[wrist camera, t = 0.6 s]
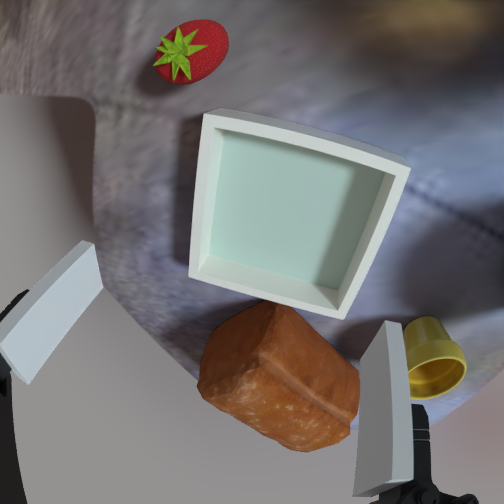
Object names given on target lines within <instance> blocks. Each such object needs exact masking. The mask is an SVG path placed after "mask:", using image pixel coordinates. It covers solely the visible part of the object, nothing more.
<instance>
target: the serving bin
mask: <svg viewBox="0 0 504 504" xmlns="http://www.w3.org/2000/svg"><path fill="white" fill-rule="evenodd" d="M410 170H411V168H410V166H409V165H408V164H407V163H406V162H405V161H404V160H403V158H402V157H401V156H400V155H398V154H395V153H393V152H390V151H387V150H384V149H381V148H378V147H376V146H373V145H370V144H367V143H364V142H360V141H357V140H354V139H351V138H348V137H344V136H341V135H338V134H334V133H331V132H327V131H324V130H320V129H316V128H313V127H309V126H305V125H301V124H297V123H293V122H289V121H285V120H280V119H276V118H271V117H267V116H262V115H257V114H252V113H247V112H242V111H236V110H230V109H224V108H218V109H215V110H212V111H209V112H207V113H204V115H203V123H202V131H201V139H200V147H199V156H198V165H197V174H196V184H195V194H194V205H193V217H192V230H191V244H190V259H189V277H190V278H194V279H197V280H200V281H204V282H207V283H210V284H214V285H217V286H220V287H224V288H227V289H231V290H234V291H238V292H241V293H245V294H248V295H252V296H255V297H259V298H262V299H266V300H269V301H273V302H277V303H280V304H284V305H288V306H292V307H295V308H299V309H303V310H307V311H310V312H314V313H318V314H322V315H326V316H330V317H334V318H338V319H342V320H344V318H345V316H346V314H347V312H348V310H349V308H350V307H351V305H352V303H353V301H354V299H355V297H356V295H357V293H358V291H359V289H360V287H361V285H362V283H363V281H364V279H365V277H366V275H367V273H368V270H369V268H370V266H371V264H372V262H373V260H374V258H375V256H376V253H377V251H378V249H379V247H380V244H381V242H382V240H383V238H384V235H385V233H386V231H387V228H388V226H389V224H390V221H391V219H392V217H393V214H394V212H395V209H396V207H397V204H398V202H399V199H400V197H401V194H402V191H403V189H404V186H405V184H406V181H407V178H408V175H409V173H410Z"/></svg>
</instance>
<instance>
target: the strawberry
mask: <svg viewBox="0 0 504 504" xmlns="http://www.w3.org/2000/svg"><path fill="white" fill-rule="evenodd" d="M160 37H161V39H162V42H161V44H160V45H159V47H156V48H155V49H157V53H156V57H155V64H154V65H153V66H155V67H156V70H157V72H158V74H159V76H160V77H161V78H162V79H164V80H166V81H168V82H171V83H174V84H181V85H184V84H191V83H194V82H197V81H199V80H201V79H203V78H205V77H206V76H208V75H209V74H211V73H212V72H213V71H214V70H215V69H216V68H217V67H218V66H219V65H220V64H221V63H222V61H223V60H224V58H225V57H226V54H227V52H228V47H229V41H228V35H227V32H226V30H225V29H224V27H223V26H221V25H220V24H219V23H217V22H215V21H212V20H193V21H189V22H186V23H183V24H181V25H179V26H177V27H176V28H175V29H173V30H172V31H171V32H170V33H169V34H168V35H167V36H166V37H165V38H164V37H162V36H160Z"/></svg>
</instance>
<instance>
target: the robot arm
mask: <svg viewBox="0 0 504 504" xmlns="http://www.w3.org/2000/svg"><path fill="white" fill-rule="evenodd" d="M102 289H103V285H102V281H101V276H100V272H99V267H98V262H97V257H96V252H95V247H94V244H93V243H90V242H87V241H83V240H82V241H81V242H80V243H78V244H77V245H76V246H75V247H74V248H73V249H72V250H71V251H70V252H69V253H67V254H66V255H65V257H63V258H62V259H61V260H60V261H59V262H58V263H57V264H56V265H55V266H54V267H53V268H52V269H51V270H50V271H49V272H48V273H47V274H46V275H45V276H44V277H42V279H41V280H40V281H39V282H38V283H37V284H36V285H35V286H34V287H33V288H32V289H31V290H28V289H27V290H25V291H23V292H22V293H20V294H18V295H17V296H16V297H15V298H14V299H13V300H12V301H11V304H9V305H8V306H7V307H6V308H5V310H4V311H2V313H1V314H0V504H27V500H26V496H25V492H24V488H23V483H22V478H21V473H20V468H19V463H18V457H17V449H16V443H15V433H14V423H13V410H12V387H11V374H10V373H9V372H10V371H11V369H12V370H13V371H14V373H15V374H16V375H17V376H18V377H19V378H20V379H21V380H23V381H24V382H25V383H27V384H28V385H29V384H30V382H31V381H32V379H33V378H34V377H35V375H36V374H37V372H38V371H39V369H40V368H41V367H42V365H43V364H44V362H45V361H46V360H47V358H48V357H49V356H50V354H51V353H52V351H53V350H54V349H55V348H56V346H57V345H58V344H59V342H60V341H61V339H62V338H63V337H64V336H65V334H66V333H67V332H68V330H69V329H70V328H71V327H72V325H73V324H74V323H75V322H76V320H77V319H78V318H79V316H80V315H81V314H82V313H83V311H84V310H85V309H86V308H87V307H88V305H89V304H90V303H91V302H92V301H93V299H94V298H95V297H96V296H97V294H98V293H99V292H100V291H101V290H102ZM429 440H430V435H429V421H428V415H427V413H426V411H425V409H424V406H423V405H420V404H411V397H410V386H409V377H408V368H407V360H406V353H405V346H404V339H403V333H402V327H401V323H396V322H391V321H387V320H385V321H384V323H383V324H382V326H381V328H380V329H379V331H378V333H377V334H376V336H375V337H374V339H373V340H372V342H371V344H370V345H369V347H368V348H367V350H366V351H365V353H364V354H363V356H362V357H361V359H360V410H359V432H358V448H357V461H356V471H355V482H354V490H353V496H354V497H373V496H375V495H378V494H379V500H377V501H374V502H371V503H369V504H479V502H478V500H477V498H476V497H475V496H474V495H473V494H466V495H463V496H461V497H456V496H452V495H448V494H445V493H442V492H440V491H439V490H438V488H437V487H436V486H435V485H434V484H433V482H432V478H431V452H430V442H429Z"/></svg>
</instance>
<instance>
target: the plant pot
mask: <svg viewBox="0 0 504 504" xmlns="http://www.w3.org/2000/svg"><path fill="white" fill-rule="evenodd" d="M403 339H404V346H405V353H406V360H407V368H408V377H409V386H410V397H411V399H413V400H424V399H430V398H434V397H437V396H440V395H442V394H444V393H446V392H448V391H450V390H451V389H453V388H454V387H455V386H457V385H458V384H459V383H460V382H461V380H462V379H463V378H464V376H465V374H466V370H467V366H466V362H465V358H464V355H463V353H462V350H461V348H460V346H459V345H458V344H457V343H456V342H454V341H452V340H451V338H450V336H449V335H448V333H447V332H446V330H445V329H444V327H443V325H442V324H441V322H440V321H439V320H438V319H437V318H435V317H432V316H424V317H420V318H417V319H415V320H413V321H412V322H410V323H409V324H408V325H407V326H406V328H405V329H404V331H403Z"/></svg>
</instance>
